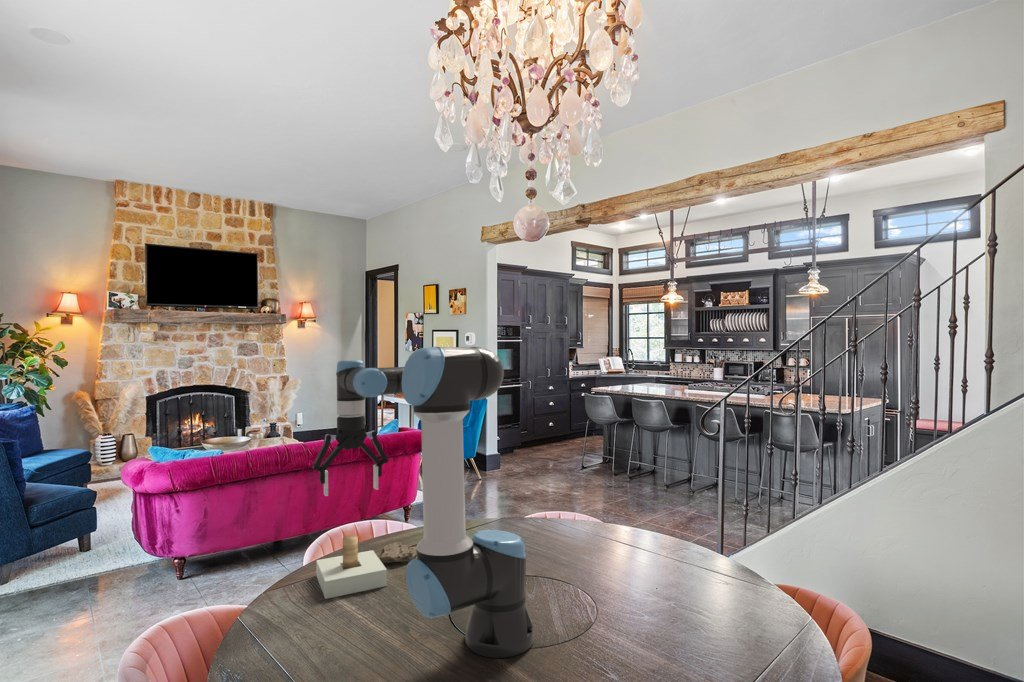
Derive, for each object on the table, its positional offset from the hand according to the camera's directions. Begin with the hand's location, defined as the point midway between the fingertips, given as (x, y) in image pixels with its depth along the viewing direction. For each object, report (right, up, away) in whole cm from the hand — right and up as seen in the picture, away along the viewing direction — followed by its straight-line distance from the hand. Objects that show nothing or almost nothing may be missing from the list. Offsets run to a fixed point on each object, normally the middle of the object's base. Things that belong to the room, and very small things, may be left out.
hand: (351, 491), depth 152 cm
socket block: (0, -25, 0) cm, 25 cm away
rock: (+10, -25, +15) cm, 31 cm away
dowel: (0, -25, 0) cm, 25 cm away
